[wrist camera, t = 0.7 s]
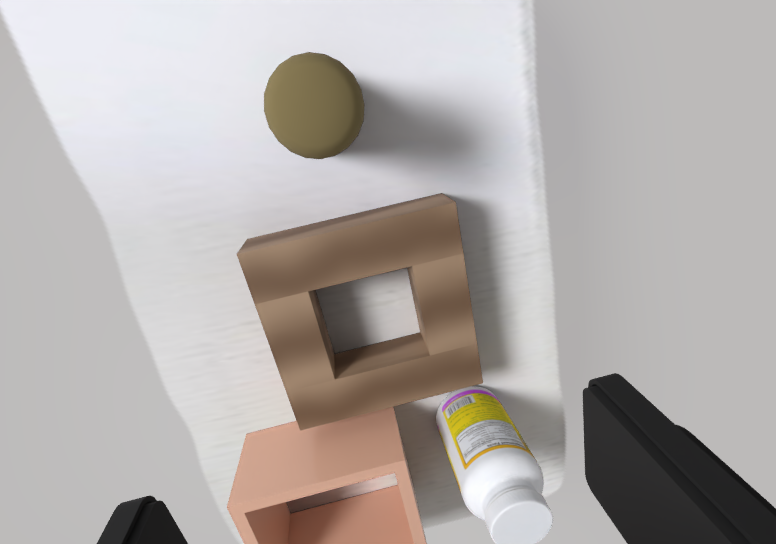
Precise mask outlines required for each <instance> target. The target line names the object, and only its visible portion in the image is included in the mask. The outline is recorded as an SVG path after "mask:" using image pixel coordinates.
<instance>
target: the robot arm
mask: <svg viewBox="0 0 776 544" xmlns="http://www.w3.org/2000/svg"><path fill="white" fill-rule="evenodd" d="M583 416H584V449H585V475H586V480H587V483H588V485H589V487H590V489H591V491H592V493H593V494H594V496H595V497H596V499H597V500H598V501H599V503H600V504H601V506H602V507H603V509H604V510H605V512H606V513H607V515H608V516H609V517H610V519H611V520H612V522H613V523H614V525H615V526H616V528H617V529H618V531H619V532H620V533H621V534H622V536H623V538H624V539H625V540H626V542H627V543H628V544H776V509H775V508H774V507H773V506H772V505H771V504H770V503H769V502H768V501H767V500H766V499H764V498H763V497H762V496H761V495H760V494H759V493H758V492H757V491H755V490H754V489H753V488H752V487H751V486H750V485H749V484H748V483H746V482H745V481H744V480H743V479H742V478H741V477H740V476H739V475H738V474H736V473H735V472H734V471H733V470H732V469H731V468H730V467H729V466H728V465H726V464H725V463H724V462H723V461H722V460H721V459H720V458H718V457H717V456H716V455H715V454H714V453H713V452H712V451H711V450H710V449H708V448H707V447H706V446H705V445H704V444H703V443H702V442H701V441H700V440H698V439H697V438H696V437H695V436H694V435H693V434H691V433H690V432H689V431H688V430H686V429H685V428H683V427H681V426H678V425H675V424H674V423H672V422H671V421H670V420H669V419H668V418H667V417H666V416H665V415H664V414H663V413H662V412H660V411H659V410H658V409H657V408H656V407H655V406H654V405H653V404H652V403H651V402H650V401H648V400H647V399H646V398H645V397H644V396H643V395H642V394H641V393H640V392H638V391H637V390H636V389H635V388H634V387H633V386H632V385H631V384H630V383H629V382H627V381H626V380H625V379H624V378H623V377H622V376H621V375H619V374H616V373H615V374H611V375H607V376H603V377H599V378H596V379H592V380H590V381H589V386H588V388H585V389H584V390H583ZM97 544H188V543H187V541H186V540H185V538H184V536H183V534H182V533H181V531H180V529H179V528H178V526H177V524H176V522H175V521H174V519H173V517H172V516H171V514H170V512H169V510H168V509H167V507H166V505H165V504H164V503H163V501H157V500H156V499H155V498H154V497H152V496H146V497H142V498H139V499H135V500H131V501H127V502H123V503H121V504H120V505H118V506H117V508H116V509H115V511H114V512H113V514H112V516H111V518H110V520H109V522H108V524H107V525H106V527H105V529H104V531H103V533H102V535H101V537H100V539H99V541H98V543H97Z"/></svg>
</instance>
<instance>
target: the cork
mask: <svg viewBox="0 0 776 544" xmlns="http://www.w3.org/2000/svg"><path fill="white" fill-rule="evenodd" d="M264 112H265V115H266V119H267V122H268V125H269V128H270V129H271V131H272V132H273V134H274V135H275V137H276V138H277V140H278V141H279V142H280V143H281V144H282V145H284V146H285V147H286V148H287V149H288V150H289V151H291V152H293V153H295V154H298V155H300V156H302V157H305V158H313V159H323V158H328V157H332V156H335V155H337V154H339V153H340V152H342V151H343V150H345V149H347V148H348V147H349V146H350V145H351V143H352V142H353V141H354V140H355V138H356V137H357V136H358V134H359V131H360V128H361V126H362V123H363V119H364V100H363V96H362V91H361V88H360V86H359V84H358V82H357V81H356V79H355V77H354V75H353V74H352V73H351V72H350V71H349V70H348V69H347V68H346V67H345V66H344V65H343V64H342V63H341V62H340V61H338V60H336V59H334V58H332V57H330V56H328V55H326V54H319V53H311V52H308V53H303V54H299V55H294V56H292V57H290V58H289V59H287V60H286V61H284V62H283V63H281V64H280V65H279V66H278V67H277V68H276V70H275V71H274V72H273V74H272V75H271V76H270V78H269V81H268V84H267V87H266V90H265V93H264Z"/></svg>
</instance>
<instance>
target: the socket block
mask: <svg viewBox="0 0 776 544" xmlns="http://www.w3.org/2000/svg"><path fill="white" fill-rule="evenodd" d="M237 256H238V259H239V262H240V265H241V267H242V270H243V273H244V276H245V279H246V281H247V284H248V287H249V290H250V292H251V295H252V298H253V301H254V304H255V306H256V309H257V312H258V315H259V317H260V320H261V323H262V326H263V329H264V331H265V334H266V337H267V340H268V342H269V345H270V348H271V351H272V354H273V356H274V359H275V362H276V365H277V367H278V370H279V373H280V376H281V379H282V381H283V384H284V387H285V390H286V392H287V395H288V398H289V401H290V404H291V406H292V409H293V412H294V415H295V417H296V420H297V423H298V426H299V428H300V431H301V430H305V429H309V428H312V427H316V426H320V425H324V424H328V423H332V422H335V421H339V420H343V419H347V418H351V417H355V416H359V415H362V414H366V413H370V412H374V411H378V410H382V409H386V408H389V407H393V406H397V405H401V404H405V403H409V402H412V401H416V400H420V399H424V398H428V397H432V396H436V395H439V394H443V393H447V392H451V391H455V390H459V389H463V388H466V387H470V386H474V385H478V384H482V383H483V379H482V373H481V366H480V359H479V353H478V346H477V340H476V333H475V326H474V320H473V313H472V307H471V300H470V293H469V287H468V280H467V274H466V267H465V260H464V254H463V247H462V241H461V234H460V227H459V221H458V214H457V208H456V202H455V201H453V200H452V199H450V198H449V197H447V196H446V195H444V194H442V193H441V194H436V195H432V196H428V197H424V198H419V199H415V200H411V201H407V202H402V203H398V204H394V205H390V206H385V207H381V208H377V209H373V210H369V211H364V212H360V213H356V214H352V215H347V216H343V217H339V218H335V219H330V220H326V221H322V222H318V223H313V224H309V225H305V226H301V227H297V228H292V229H288V230H284V231H280V232H275V233H271V234H267V235H263V236H258V237H254V238H250V239H247V240H246V242H245V243H244V244H243V246H242V247H241V249H240V250H239V252H238V253H237ZM406 267H407V270H408V274H409V279H410V284H411V289H412V294H413V299H414V304H415V308H416V313H417V318H418V323H419V328H420V333H416V334H412V335H408V336H404V337H400V338H396V339H392V340H388V341H385V342H381V343H377V344H373V345H369V346H365V347H361V348H357V349H353V350H349V351H345V352H341V353H337V354H334V351H333V348H332V344H331V341H330V338H329V334H328V331H327V327H326V324H325V321H324V317H323V314H322V311H321V307H320V304H319V301H318V297H317V294H316V291H315V290H316V289H320V288H324V287H328V286H332V285H337V284H341V283H345V282H349V281H353V280H357V279H361V278H365V277H369V276H373V275H378V274H382V273H386V272H390V271H394V270H398V269H402V268H406Z"/></svg>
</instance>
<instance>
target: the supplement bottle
mask: <svg viewBox="0 0 776 544" xmlns="http://www.w3.org/2000/svg"><path fill="white" fill-rule="evenodd" d="M436 422H437V427H438V430H439V433H440V436H441V439H442V442H443V444H444V447H445V450H446V453H447V455H448V458H449V461H450V464H451V466H452V469H453V472H454V475H455V478H456V480H457V483H458V486H459V489H460V492H461V495H462V497H463V500H464V502H465V504H466V506H467V508H468V509H469V510H470V511H471V512H472V513H473V514H474V515H475V516H476V517H478V518H480V519H482V520H484V521H485V522H486V526H487V528H488V530H489V533H490V535H491V537H492V539H493V541H494V542H495V543H496V544H536V543H537V542H539V541H540V540H541V539H543V538H544V537H545V536H546V534H547V533H548V532H549V530H550V528H551V526H552V522H553V516H552V513H551V510H550V508H549V507H548V505H547V503H546V501H545V499H544V497H543V496H542V495H541V494H542V491H543V485H544V481H543V474H542V471H541V468H540V466H539V464H538V463H537V461H536V459H535V458H534V456H533V455H532V453H531V451H530V450H529V448H528V447H527V445H526V443H525V442H524V440H523V439H522V437H521V435H520V434H519V432H518V430H517V429H516V427H515V426H514V424H513V422H512V421H511V419H510V417H509V416H508V414H507V412H506V411H505V409H504V408H503V406H502V404H501V403H500V401H499V400H498V398H497V397H496V396H495V395H494V394H493V393H492V392H491V391H489V390H487V389H485V388H482V387H475V386H470V387H466V388H463V389H459V390H456V391H454V392H452V393H451V394H449V395H448V396H447V397H446V398H445V399H444V400H443V401H442V403H441V404H440V406H439V408H438V411H437V415H436Z"/></svg>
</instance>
